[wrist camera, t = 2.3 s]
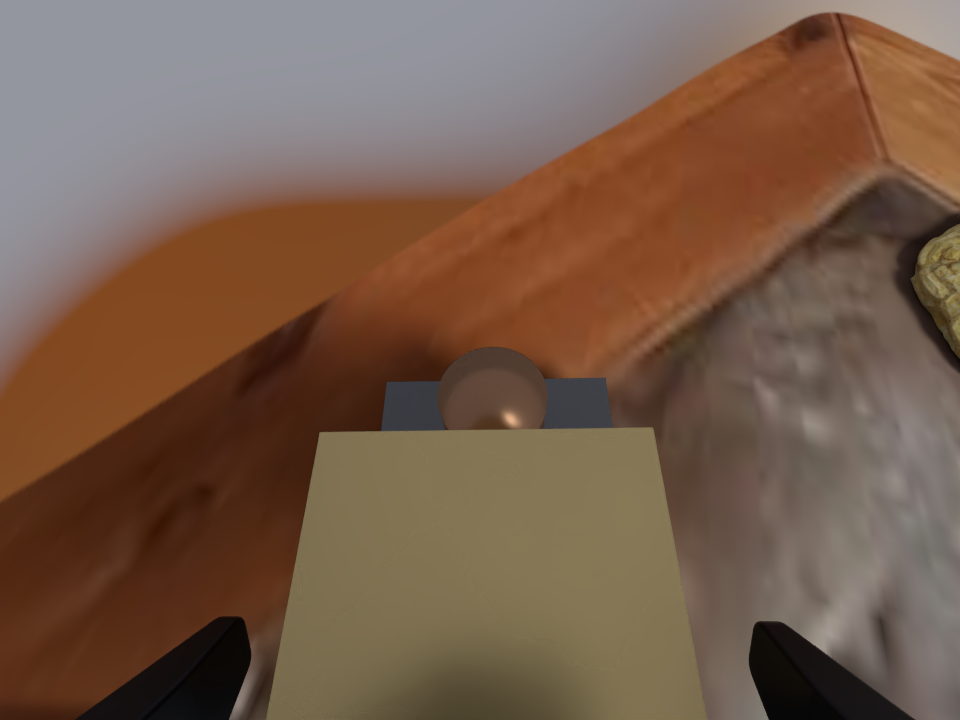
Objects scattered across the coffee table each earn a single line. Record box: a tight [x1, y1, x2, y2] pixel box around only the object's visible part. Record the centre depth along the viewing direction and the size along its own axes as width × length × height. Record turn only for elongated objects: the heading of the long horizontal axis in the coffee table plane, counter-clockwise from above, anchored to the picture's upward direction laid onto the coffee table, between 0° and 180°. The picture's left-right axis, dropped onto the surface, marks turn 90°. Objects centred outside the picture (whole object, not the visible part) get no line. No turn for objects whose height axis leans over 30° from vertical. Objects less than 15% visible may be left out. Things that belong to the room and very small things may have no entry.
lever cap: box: [266, 428, 707, 720], centre depth 10 cm, size 5×6×8 cm
